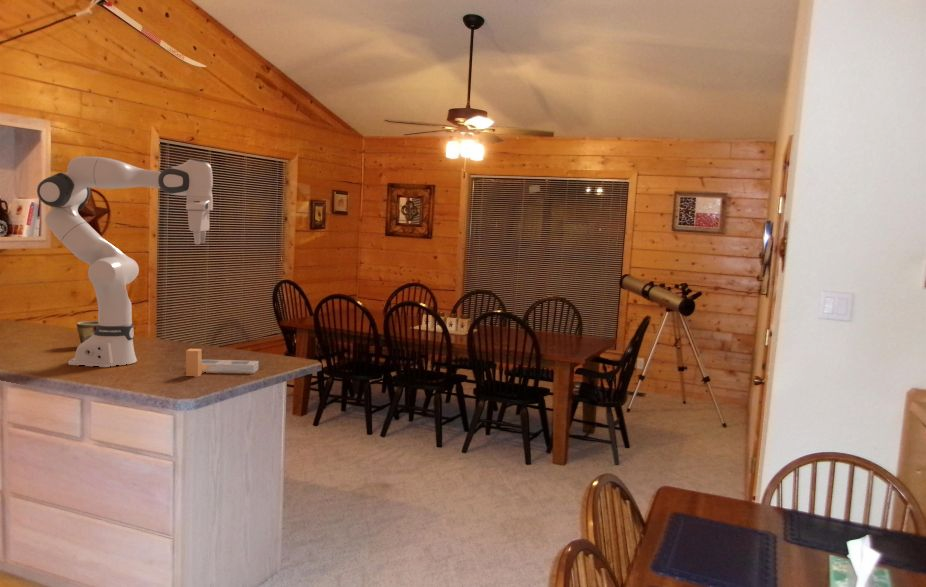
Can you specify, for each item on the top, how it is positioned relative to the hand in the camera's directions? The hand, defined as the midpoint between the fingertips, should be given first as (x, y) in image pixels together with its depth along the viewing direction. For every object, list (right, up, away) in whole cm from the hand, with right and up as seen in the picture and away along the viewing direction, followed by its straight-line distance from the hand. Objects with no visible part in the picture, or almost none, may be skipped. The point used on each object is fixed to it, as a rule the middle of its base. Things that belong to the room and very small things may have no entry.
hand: (199, 243), depth 259 cm
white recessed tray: (+10, -46, -2) cm, 47 cm away
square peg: (+2, -46, -11) cm, 48 cm away
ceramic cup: (-56, -40, +34) cm, 77 cm away
